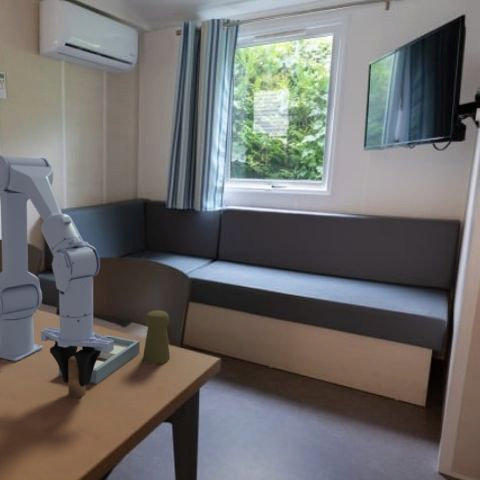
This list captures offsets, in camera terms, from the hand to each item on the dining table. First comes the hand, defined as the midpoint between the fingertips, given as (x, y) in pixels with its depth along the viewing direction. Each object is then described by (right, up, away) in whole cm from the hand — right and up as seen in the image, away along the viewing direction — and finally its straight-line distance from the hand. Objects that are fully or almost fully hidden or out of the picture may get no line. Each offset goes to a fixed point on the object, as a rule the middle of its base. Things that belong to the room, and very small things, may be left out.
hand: (77, 381), depth 78 cm
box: (0, 0, +13) cm, 13 cm away
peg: (0, -2, 0) cm, 2 cm away
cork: (+11, -1, +17) cm, 21 cm away
